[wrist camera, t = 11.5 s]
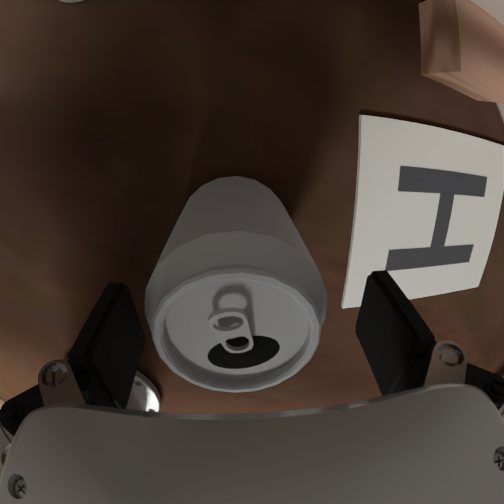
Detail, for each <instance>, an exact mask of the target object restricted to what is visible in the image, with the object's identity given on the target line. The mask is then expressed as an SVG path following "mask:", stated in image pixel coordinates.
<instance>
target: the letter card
mask: <svg viewBox="0 0 504 504" xmlns="http://www.w3.org/2000/svg"><path fill="white" fill-rule="evenodd" d="M503 191H504V146H503V145H500V144H497V143H494V142H491V141H488V140H484V139H481V138H478V137H474V136H471V135H467V134H463V133H459V132H455V131H451V130H447V129H443V128H438V127H434V126H429V125H424V124H419V123H414V122H408V121H403V120H396V119H390V118H383V117H376V116H368V115H359V142H358V165H357V181H356V195H355V206H354V217H353V226H352V235H351V244H350V252H349V259H348V266H347V273H346V280H345V286H344V292H343V298H342V304H341V306H342V308H351V307H359V306H361V302H362V298H363V293H364V289H365V284H366V280H367V276H368V275H371V273H372V272H373V271H381V270H386V271H387V272H388V273H389V274H390V275H391V277H392V278H393V279H394V281H395V282H396V283H397V285H398V286H399V287H400V289H401V290H402V291H403V293H404V294H405V295H406V297H407V298H408V299H415V298H421V297H427V296H433V295H438V294H444V293H449V292H454V291H459V290H464V289H469V288H474V287H478V286H479V283H480V280H481V277H482V274H483V271H484V268H485V265H486V262H487V259H488V255H489V252H490V249H491V245H492V241H493V238H494V234H495V230H496V225H497V221H498V217H499V212H500V207H501V202H502V196H503Z"/></svg>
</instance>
